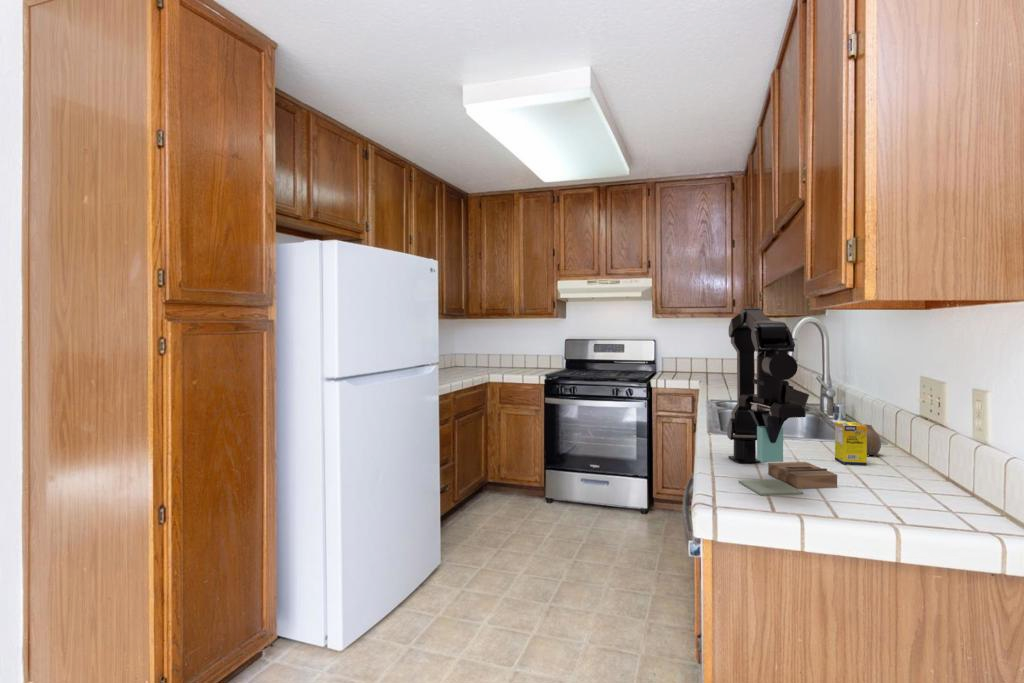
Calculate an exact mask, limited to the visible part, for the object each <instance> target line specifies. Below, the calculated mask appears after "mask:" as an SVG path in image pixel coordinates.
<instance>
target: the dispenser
mask: <svg viewBox="0 0 1024 683" xmlns="http://www.w3.org/2000/svg"><path fill="white" fill-rule="evenodd" d="M767 463H768V464H767V467H768V469H767V471H768V473H767V474H768V475H769V476H771V477H772V478H774V479H778V480H780V481H782V482H784V483H786V484H788V485H790V486H792V487H794V488H796V489H798V490H800V489H825V488H826V489H827V488H830V489H831V488H838V474H837V473H834V472H831V471H829V470H828V468H826V467H825V468H824V467H823V468H821V467H819V466H816V465H814V464H812V463H810V462H807V461H789V462H786V461H785V462H784V461H783V462H767Z"/></svg>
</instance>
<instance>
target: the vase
mask: <svg viewBox="0 0 1024 683" xmlns="http://www.w3.org/2000/svg"><path fill="white" fill-rule="evenodd" d="M862 424H863V423H862ZM863 425H865V426H867V455H875V456H876V455H878V453H879V452H880V450H881V449H882V440H881V438H880V435H879V434H878V433H877V431H876V430H875V429H874V427H873V425H871V424H865V423H864V424H863Z"/></svg>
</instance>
